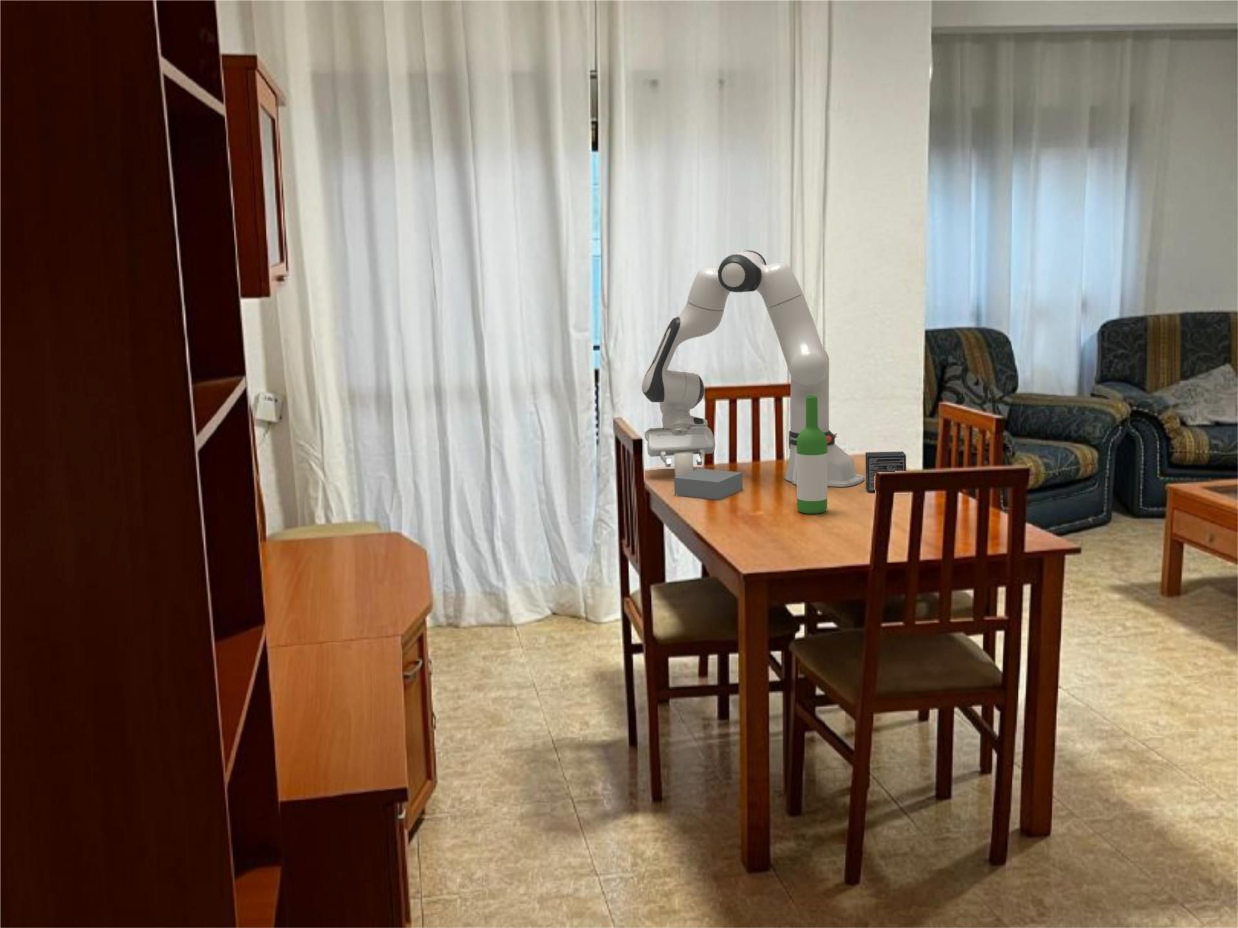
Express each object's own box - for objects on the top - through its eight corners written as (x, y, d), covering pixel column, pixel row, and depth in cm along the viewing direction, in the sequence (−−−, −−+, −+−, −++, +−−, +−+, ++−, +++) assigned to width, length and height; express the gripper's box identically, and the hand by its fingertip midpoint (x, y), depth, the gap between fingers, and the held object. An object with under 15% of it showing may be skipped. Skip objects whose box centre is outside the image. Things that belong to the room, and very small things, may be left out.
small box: (903, 487, 328) (903, 450, 326) (906, 492, 322) (907, 455, 320) (864, 487, 329) (865, 451, 327) (867, 493, 323) (867, 455, 321)
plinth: (742, 489, 332) (742, 472, 331) (718, 500, 321) (718, 482, 320) (699, 485, 340) (699, 468, 339) (674, 495, 328) (674, 477, 327)
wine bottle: (804, 516, 300) (803, 399, 294) (792, 509, 307) (791, 395, 301) (832, 513, 302) (832, 397, 296) (819, 506, 309) (819, 393, 303)
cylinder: (696, 478, 349) (696, 452, 347) (687, 482, 344) (686, 455, 343) (680, 477, 352) (680, 451, 350) (671, 480, 347) (670, 454, 346)
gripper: (644, 422, 351) (650, 461, 343) (712, 419, 353) (719, 457, 345) (642, 435, 356) (648, 473, 348) (709, 431, 358) (716, 469, 350)
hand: (684, 465), depth 347 cm, fingers open, 8 cm apart
